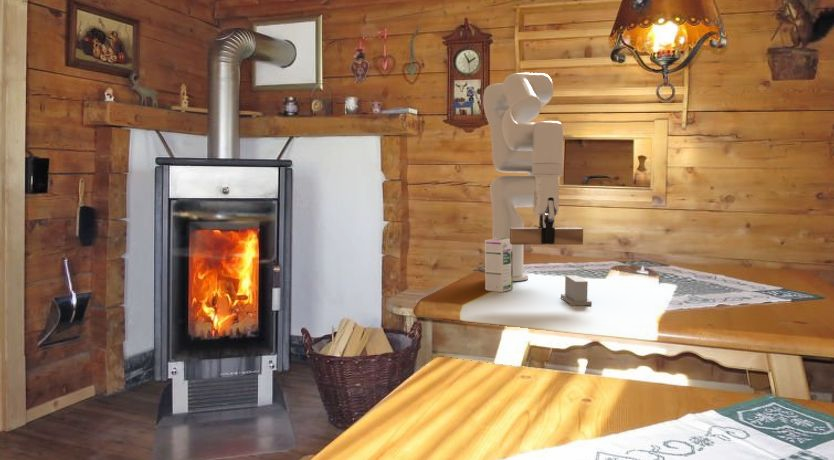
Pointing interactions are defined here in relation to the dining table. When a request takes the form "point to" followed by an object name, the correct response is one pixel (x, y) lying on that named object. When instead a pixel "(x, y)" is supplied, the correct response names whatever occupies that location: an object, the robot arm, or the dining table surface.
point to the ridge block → (576, 291)
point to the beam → (535, 235)
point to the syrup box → (498, 265)
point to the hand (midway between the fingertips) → (546, 242)
